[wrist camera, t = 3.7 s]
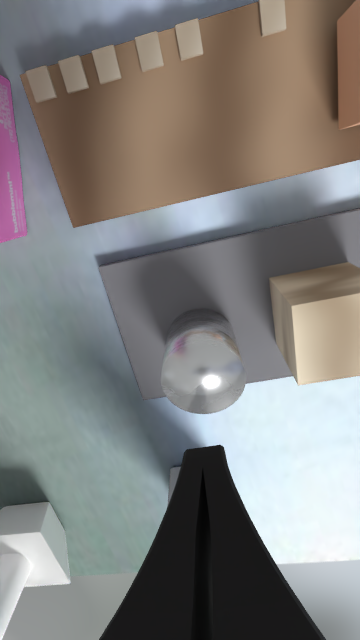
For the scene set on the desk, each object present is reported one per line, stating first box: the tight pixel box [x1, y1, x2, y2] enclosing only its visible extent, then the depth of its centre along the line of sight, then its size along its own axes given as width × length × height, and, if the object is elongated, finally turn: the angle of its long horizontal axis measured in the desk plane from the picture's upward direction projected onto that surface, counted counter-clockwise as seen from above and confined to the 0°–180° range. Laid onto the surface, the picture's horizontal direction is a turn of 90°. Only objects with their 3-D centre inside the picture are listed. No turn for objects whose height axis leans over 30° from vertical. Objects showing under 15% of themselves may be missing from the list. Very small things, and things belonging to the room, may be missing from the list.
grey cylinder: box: [161, 309, 246, 414], centre depth 18 cm, size 4×4×4 cm
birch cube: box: [269, 262, 360, 385], centre depth 17 cm, size 4×4×4 cm
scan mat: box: [99, 208, 360, 400], centre depth 20 cm, size 16×10×1 cm, turn 103°
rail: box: [20, 0, 360, 228], centre depth 15 cm, size 19×7×1 cm, turn 103°
